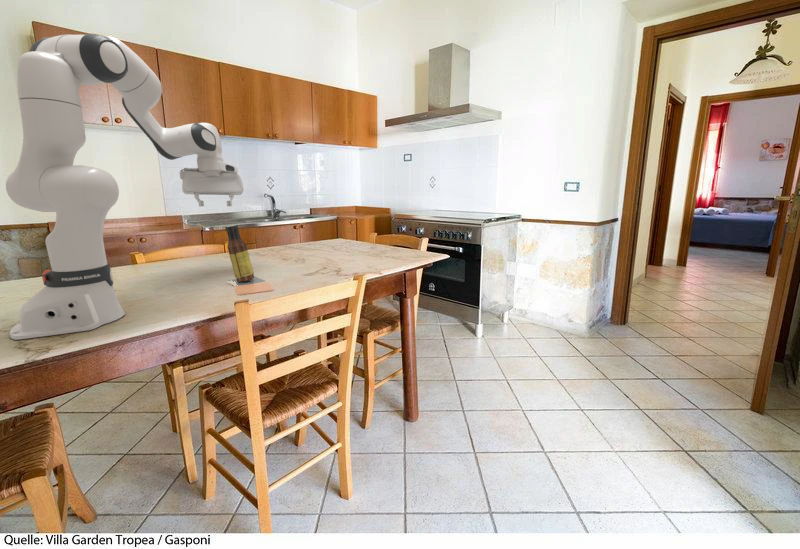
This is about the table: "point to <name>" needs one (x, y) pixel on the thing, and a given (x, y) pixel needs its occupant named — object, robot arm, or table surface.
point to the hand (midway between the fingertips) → (215, 206)
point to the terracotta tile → (253, 288)
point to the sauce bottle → (239, 255)
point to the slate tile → (254, 280)
